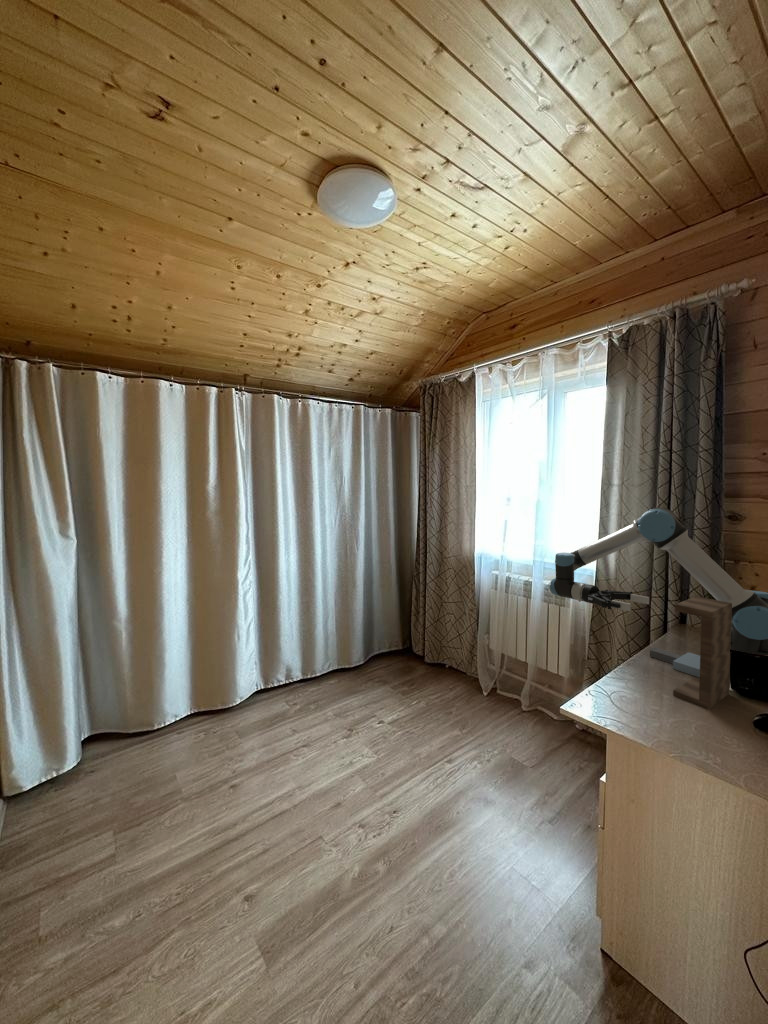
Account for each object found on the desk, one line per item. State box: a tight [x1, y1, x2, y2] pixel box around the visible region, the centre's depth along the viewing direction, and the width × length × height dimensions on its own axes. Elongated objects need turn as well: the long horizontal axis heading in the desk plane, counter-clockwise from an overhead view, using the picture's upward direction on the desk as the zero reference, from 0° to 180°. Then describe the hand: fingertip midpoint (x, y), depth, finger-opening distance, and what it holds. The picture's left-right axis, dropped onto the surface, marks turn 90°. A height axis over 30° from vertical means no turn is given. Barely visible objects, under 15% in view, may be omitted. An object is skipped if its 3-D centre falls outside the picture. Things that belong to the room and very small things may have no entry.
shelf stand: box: [672, 595, 732, 710], centre depth 119 cm, size 14×9×28 cm, turn 122°
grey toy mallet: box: [649, 647, 700, 678], centre depth 141 cm, size 12×17×3 cm
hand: (639, 604), depth 150 cm, fingers open, 13 cm apart
